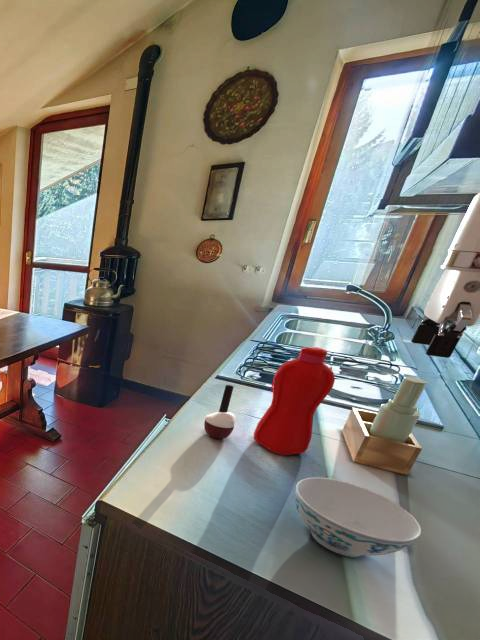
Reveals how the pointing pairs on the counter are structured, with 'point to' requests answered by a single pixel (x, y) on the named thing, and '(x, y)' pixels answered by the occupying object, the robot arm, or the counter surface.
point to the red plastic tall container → (295, 402)
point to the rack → (378, 445)
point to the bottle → (399, 412)
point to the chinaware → (353, 518)
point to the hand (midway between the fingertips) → (428, 349)
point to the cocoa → (221, 418)
